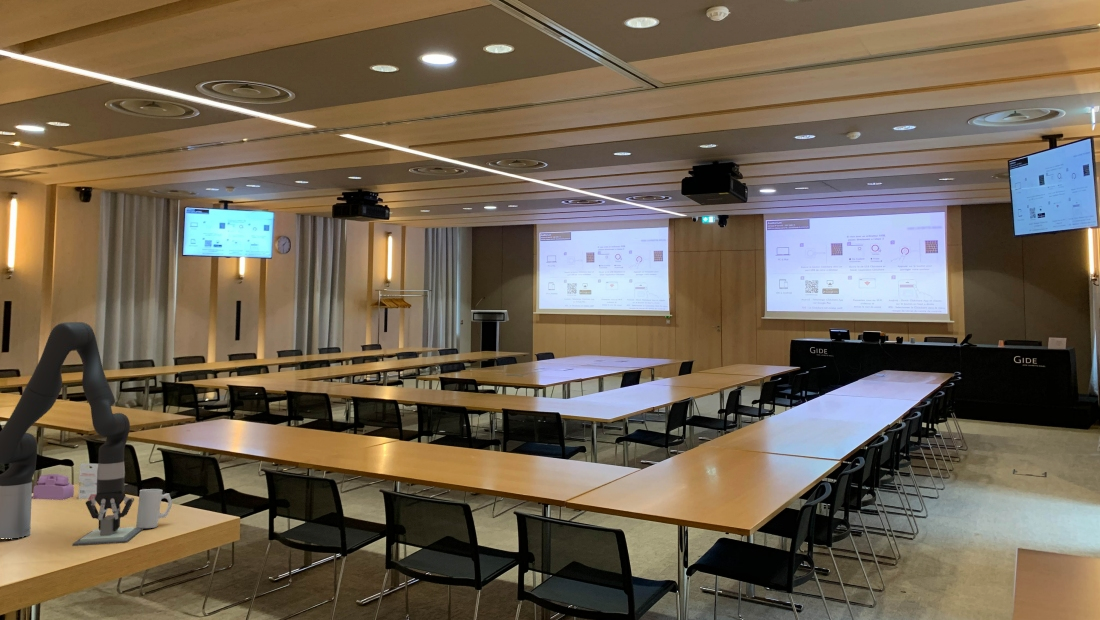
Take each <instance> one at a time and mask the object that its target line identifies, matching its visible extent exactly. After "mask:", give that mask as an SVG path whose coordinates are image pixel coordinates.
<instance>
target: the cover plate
mask: <svg viewBox="0 0 1100 620" xmlns="http://www.w3.org/2000/svg"><path fill="white" fill-rule="evenodd" d="M113 520H114V514H108V515H107V514H106V516H105V517H104V518H103V519H101V526H100V530H99V528H95V529H93V530H91V531H92V532H91V531H90V532H91V533H89V532H88V533H89V534H88V533H87V535H86V534H85V535H86V536H85V535H83V536H84V537H83V536H82V537H83V538H82V537H80V538H81V539H80V538H79V539H80V542H89V541H106V540H123V539H125V538H126V537H127V536H128V535H130V534H131V533H132V532H134V531H135V530H136V528H137V527H136V526H130V527H129V526H128V527H119V528H118V530H117V531H113Z"/></svg>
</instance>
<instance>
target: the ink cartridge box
mask: <svg viewBox="0 0 1100 620" xmlns="http://www.w3.org/2000/svg"><path fill="white" fill-rule="evenodd" d="M97 469H98V463H91V462H90V463H89V462H88V463H86V462H85V463H84V462H82V463H80V467H79V471H78V473H79V474H78V475H79V477H78V483H79V484H78V500H81V499H88V500H90V499H91V500H92V499H94V498H95V496H96V494H97ZM88 500H87V501H88Z"/></svg>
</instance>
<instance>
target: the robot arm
mask: <svg viewBox="0 0 1100 620" xmlns="http://www.w3.org/2000/svg"><path fill="white" fill-rule="evenodd" d="M48 335H49V336H48V338H47V341H46V343H45V345H44V348H43V352H42V354H41V357H40V359H39V360H38V363H37V364H36V367H35V369H34V372H33V374H32V375H31V377H30V379H29V380H28V382H27V384H26V386H25V388H24V390H23V392H22V394H21V396H20V398H19V400H18V402H17V404H16V405H15V408H14V409H13V411H12V413H11V415H10V417H9V418H8V420H7V421H6V423H5V424H4V426H3V427H2V429H1V430H0V465H7V464H10V466H9V467H8V468H7V469H6V470H5V471H4V472H3V473H0V539H1V538H4V539H6V538H7V539H9V538H10V539H11V538H18V539H20V538H19V537H22V538H25V537H24V536H26V537H28V536H30V535H31V530H32V528H31V527H32V526H31V524H32V523H31V522H32V499H33V498H32V496H33V478H34V475H35V473H36V467H37V466H36V465H37V456H38V443H37V439H36V437H35V436H34V435H33V434H32V433H29V432H27V431H29V429H30V428H31V426H32V425H34V424H35V423H36V422H37V421H39V420H40V419H41V418H42V417H44V415H46V414H47V413H48V412H49V411H50V410H51V409H52V407H53V406H54V405H55V403H56V401H57V399H58V397H59V395H60V394H61V391H62V389H63V378H62V377H63V376H62V367H63V365H64V362H65V360H66V359H67V357H68V355H69V354H70V353H71V352H72V351H73V352H74V351H76V352H77V354H78V355H79V358H80V360H81V362H82V380H81V381H82V382H81V384H82V390H83V392H84V395H85V399H86V401H87V402H88V405H89V407H90V415H91V420H92V426H93V429H94V431H95V432H96V434H97V435H99V436H100V437H103V438H106V439H105V442H104V443H103V444H101V445H100V446H99V448H98V463H97V464H98V469H97V494H96V496H95V498H94V499H92V500H91V499H90V500H86V501H85V505H86V507H87V510H88V512H89V514H90V516H91V518H92V519H96V520H98V529H99V530H100V526H101V519H103V518H104V517H106V516H107V511H108V509H110V510H111V511H112V515H114V520H113V531H117V530H118V528H121V518H124V517H126V516H127V514H128V513H129V510H130V509H131V507H132V505H133V503H134V501H135V497H129V496H126V493H125V476H126V471H125V470H126V469H125V468H126V467H125V447H126V444H127V441H128V436H129V434H130V429H131V428H130V427H131V426H130V425H131V424H130V420H129V417H128V416H127V415H126V414H124V413H122V412H117V413H116V412H115V413H113V409H112V406H114V405H115V403H116V399H115V396H114V393H113V391H112V389H111V387H110V385H109V382H108V380H107V377H106V373H105V371H104V367H103V363H102V360H101V355H100V351H99V347H98V346H99V345H98V341H97V338H96V334H95V331H94V330H93V328H92V327H91V326H90V324H88V323H85V322H80V321H79V322H78V321H73V322H71V321H69V322H62V323H58V324H56V325H55V326H54V327H53V328H52V329H51V331H50V332H49V334H48ZM123 501H124V507H123V509H122V510H121V504H122V502H123ZM96 504H97V505H98V506H99V509H97V506H96ZM11 540H12V539H11Z"/></svg>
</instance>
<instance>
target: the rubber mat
mask: <svg viewBox="0 0 1100 620" xmlns="http://www.w3.org/2000/svg"><path fill="white" fill-rule="evenodd" d="M143 529H144V528H137V527H136V530H135V531H134V532H132V533H131V534H130V535H128V536H127V537H126V538H125V539H123V540H106V541H89V542H80V539H81V538H83V537H84V536H86V535H87V534H89V533H91V532H92V531H93V530H91V531H89V532H88V533H87V534H85V535H83V536H82V537H80V538H79V539H77V540H76V541H74V542H73V543H72V547H73V546H87V545H89V546H90V545H91V546H92V545H106V544H109V545H110V544H124V543H125V544H126V543H128V542H130V541H131V540H132V539H133V538H135V537H136V536H137V535H138V534H140V533H141V532H142V531H143Z"/></svg>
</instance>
